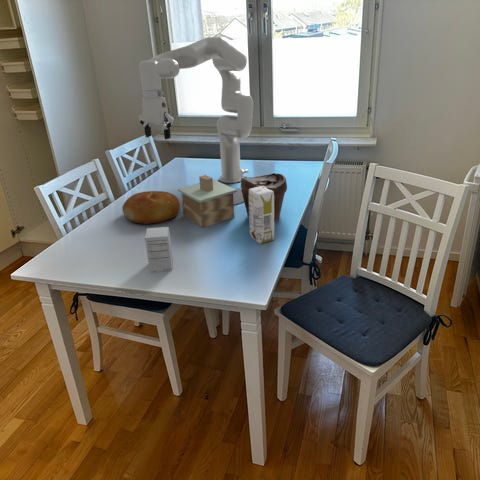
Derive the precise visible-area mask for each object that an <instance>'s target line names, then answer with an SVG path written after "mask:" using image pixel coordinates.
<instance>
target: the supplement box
mask: <svg viewBox="0 0 480 480" xmlns="http://www.w3.org/2000/svg"><path fill="white" fill-rule="evenodd" d="M144 241H145V248H146V255H147V260H148V267H149V268H148V269H149V272H151V273H154V272H165V271H167V272H168V271H169V272H170V271H172V270H173V263H174V262H173V261H174V257H173V251H172V250H173V249H172V243H171V242H172V241H171V235H170V228H169V226H161V227H149V228H146V230H145V236H144Z"/></svg>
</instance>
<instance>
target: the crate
mask: <svg viewBox="0 0 480 480" xmlns="http://www.w3.org/2000/svg"><path fill="white" fill-rule="evenodd" d="M181 200H182V209H183V216H184V218H186V219H188V220H190V221H191V222H193V223H194V224H196V225H198V226H199V227H201V228H204V229H205V228H207V227H210V226H212V225H216V224H218V223H222V222H225V221H227V220H230V219H233V218H235V205H234V202H233V193H232V194H228V195H225V196H222V197H218V198H215V199H211V200H208V201H205V202H201V203H199V202H197V201H195V200H194V199H192V198H190V197H188V196H186V195H184V194H182V193H181Z"/></svg>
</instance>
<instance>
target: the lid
mask: <svg viewBox="0 0 480 480" xmlns="http://www.w3.org/2000/svg"><path fill="white" fill-rule="evenodd" d="M177 192H178V193H181V195H182V194H184V195H186V196H188V197H190V198H192V199H194V200H195V201H197V202H199V203H201V202H205V201H208V200H211V199H215V198H218V197H222V196H225V195H228V194H232V193H235V192H236V188H233V187H231V186H230V185H227V184H226V183H223V182H220V181H219V180H215V179H213V177H211V176H209V175H207V174H204V175H200V176H199V182H198V183H194V184H191V185H186V186H183V187H180V188H179V187H178V188H177Z"/></svg>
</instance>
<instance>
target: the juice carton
mask: <svg viewBox="0 0 480 480" xmlns="http://www.w3.org/2000/svg"><path fill="white" fill-rule="evenodd" d="M248 221H249V234H250V235H249V236H250V238H252V239H253V240H254V241H255V242H256V243H258V244H259V245H261V244H265V243H267V242H272V241H274V240H275V222H274V191H272V190H269V189H267V188H266V187H265V186H260V187H255V188H251V189H249V219H248Z"/></svg>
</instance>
